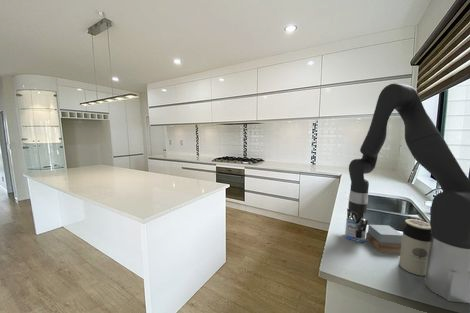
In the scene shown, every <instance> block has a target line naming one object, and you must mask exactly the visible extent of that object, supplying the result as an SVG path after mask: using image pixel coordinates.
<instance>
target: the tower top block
mask: <svg viewBox="0 0 470 313" xmlns="http://www.w3.org/2000/svg"><path fill="white" fill-rule="evenodd" d="M367 226H368V227H367V232H368V233H369V234H370V235H371V236H373V237H374V238H375V239H376V240H377V241H378V242H380V243H388V244H402V236H403V233H400V232H399V231H397V229H395V228H394V227H391V225H387V224H384V225H383V224H368V225H367Z"/></svg>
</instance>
